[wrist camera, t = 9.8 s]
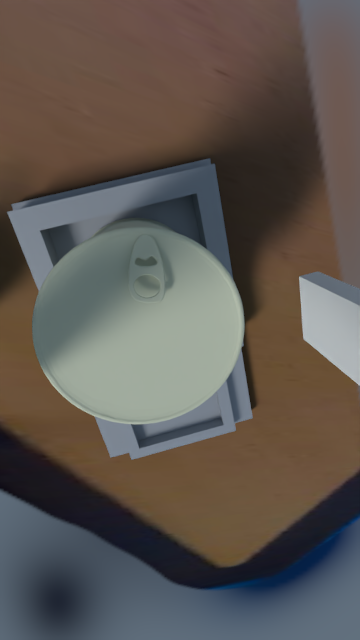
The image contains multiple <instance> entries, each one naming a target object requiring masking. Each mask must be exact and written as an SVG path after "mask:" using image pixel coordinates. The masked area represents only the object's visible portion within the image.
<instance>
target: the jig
mask: <svg viewBox="0 0 360 640" xmlns="http://www.w3.org/2000/svg"><path fill="white" fill-rule="evenodd" d="M11 205H12V208H13V210H14V211H9V212H7V213H8V216H9V218H10V221H11V223H12V226H13V228H14V230H15V233H16V235H17V238H18V240H19V243H20V245H21V248H22V250H23V253H24V255H25V258H26V260H27V263H28V265H29V268H30V270H31V273H32V275H33V278H34V280H35V283H36V285H37V288H38V290H39V291H40V289H41V286H42V284H43V282H44V281H45V279H46V277H47V276H48V274H49V273H50V271H51V270H52V268H53V267H54V266H55V265H56V264H57V263H58V262H59V260H60V259H61V258H62V257H63V256H65V255H66V254H67V253H68V252H69V251H70V250H72V249H73V248H74V247H76V246H77V245H79V244H81V243H82V242H84V241H85V240H87V239H89V238H91V237H92V236H93V235H94V234H95V233H96V232H97V231H98V230H100V229H101V228H103V227H104V226H106V225H108V224H110V223H112V222H115V221H118V220H122V219H127V218H145V219H150V220H154V221H157V222H160V223H162V224H164V225H166V226H168V227H169V228H171V229H172V230H174V231H175V232H176V233H179V234H181V235H184V236H186V237H188V238H190V239H192V240H194V241H195V242H197V243H199V244H200V245H202V246H203V247H205V248H206V249H207V250H209V251H210V252H211V253H212V254H213V255H214V256H215V257H216V258H217V259H218V260H219V261H220V262H221V263H222V264H223V266H224V267H225V268H226V269H227V271H228V272H229V274H230V275H231V277H232V279H233V275H232V269H231V262H230V256H229V250H228V244H227V237H226V231H225V225H224V219H223V212H222V206H221V200H220V194H219V187H218V181H217V175H216V169H215V164H211V161H210V158H209V159H204V160H200V161H196V162H192V163H187V164H183V165H179V166H174V167H170V168H166V169H161V170H157V171H153V172H148V173H144V174H140V175H136V176H131V177H127V178H123V179H118V180H114V181H110V182H105V183H101V184H97V185H92V186H88V187H84V188H80V189H75V190H71V191H67V192H62V193H58V194H54V195H49V196H45V197H41V198H36V199H32V200H28V201H24V202H19V203H15V204H11ZM242 346H244V344H243V343H242ZM95 418H96V421H97V424H98V426H99V429H100V431H101V434H102V436H103V439H104V441H105V444H106V446H107V449H108V451H109V454H110V457H115V456H118V455H122V454H126V453H129V454H130V457H131V460H133V459H136V458H140V457H143V456H147V455H150V454H154V453H158V452H161V451H165V450H168V449H172V448H175V447H179V446H183V445H186V444H190V443H193V442H197V441H200V440H204V439H208V438H211V437H215V436H218V435H222V434H225V433H229V432H233V431H236V428H235V423H237V422H240V421H244V420H248V419H251V418H253V417H252V411H251V405H250V399H249V393H248V387H247V381H246V375H245V368H244V362H243V356H242V350H241V351H240V354H239V357H238V360H237V362H236V364H235V366H234V368H233V370H232V372H231V373H230V375H229V377H228V378H227V380H226V381H225V382H224V383H223V385H222V386H221V387H220V388H219V389H218V390H217V391H216V392H215V393H214V394H213V395H212V396H211V397H210V398H209V399H207V400H206V401H205V402H204V403H202V404H201V405H199V406H198V407H196V408H195V409H193V410H191V411H189V412H187V413H185V414H183V415H181V416H178V417H175V418H173V419H170V420H166V421H161V422H157V423H149V424H124V423H117V422H111V421H108V420H104V419H101V418H98V417H96V416H95Z"/></svg>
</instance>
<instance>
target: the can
mask: <svg viewBox="0 0 360 640" xmlns="http://www.w3.org/2000/svg"><path fill="white" fill-rule="evenodd" d="M244 327H245V323H244V311H243V306H242V301H241V298H240V295H239V292H238V289H237V287H236V285H235V282H234V281H233V279H232V277H231V275H230V274H229V272H228V271H227V269H226V268H225V267H224V266H223V264H222V263H221V262H220V261H219V260H218V259H217V258H216V257H215V256H214V255H213V254H212V253H211V252H210V251H209V250H207V249H206V248H205V247H203V246H202V245H200V244H199V243H197V242H195V241H194V240H192V239H190V238H188V237H186V236H184V235H181V234H179V233H176V232H175V231H174V230H172V229H171V228H169V227H168V226H166V225H164V224H162V223H160V222H157V221H154V220H150V219H145V218H127V219H122V220H118V221H115V222H112V223H110V224H108V225H106V226H104V227H103V228H101V229H100V230H98V231H97V232H96V233H95V234H94V235H93V236H92V237H91V238H89V239H87V240H85V241H84V242H82V243H81V244H79V245H77V246H76V247H74V248H73V249H72V250H70V251H69V252H68V253H67V254H66V255H65V256H63V257H62V258H61V259H60V260H59V262H58V263H57V264H56V265H55V266H54V267H53V268H52V270H51V271H50V273H49V274H48V276H47V277H46V279H45V281H44V282H43V284H42V286H41V289H40V291H39V293H38V296H37V299H36V303H35V307H34V312H33V320H32V333H33V342H34V348H35V351H36V355H37V358H38V360H39V363H40V365H41V367H42V369H43V371H44V373H45V375H46V376H47V378H48V379H49V381H50V382H51V384H52V385H53V386H54V387H55V388H56V390H57V391H58V392H59V393H60V394H61V395H62V396H63V397H65V398H66V399H67V400H68V401H69V402H71V403H72V404H73V405H75V406H76V407H78V408H79V409H81V410H83V411H85V412H87V413H89V414H91V415H93V416H96V417H98V418H101V419H104V420H108V421H111V422H117V423H124V424H149V423H157V422H161V421H166V420H170V419H173V418H175V417H178V416H181V415H183V414H185V413H187V412H189V411H191V410H193V409H195V408H196V407H198V406H199V405H201V404H202V403H204V402H205V401H206V400H207V399H209V398H210V397H211V396H212V395H213V394H214V393H215V392H216V391H217V390H218V389H219V388H220V387H221V386H222V385H223V383H224V382H225V381H226V380H227V378H228V377H229V375H230V373H231V372H232V370H233V368H234V366H235V364H236V362H237V360H238V357H239V354H240V351H241V348H242V343H243V337H244Z"/></svg>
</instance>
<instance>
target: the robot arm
mask: <svg viewBox="0 0 360 640" xmlns="http://www.w3.org/2000/svg"><path fill="white" fill-rule="evenodd" d="M299 282H300V296H301V311H302V325H303V339H304V340H305V341H307V342H308V343H309V344H310V345H311V346H313V347H314V348H315V349H316V350H317V351H319V352H320V353H321V354H322V355H323V356H325V357H326V358H327V359H328V360H329V361H331V362H332V363H333V364H334V365H336V366H337V367H338V368H339V369H340V370H342V371H343V372H344V373H345V374H346V375H348V376H349V377H350V378H351V379H352V380H354V381H355V382H356V383H357V384H358V385H360V289H359V288H356V287H354V286H352V285H349V284H347V283H344V282H342V281H339V280H337V279H335V278H332V277H330V276H327V275H325V274H322V273H320V272H314V273H310V274H307V275H303V276H299Z"/></svg>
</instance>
